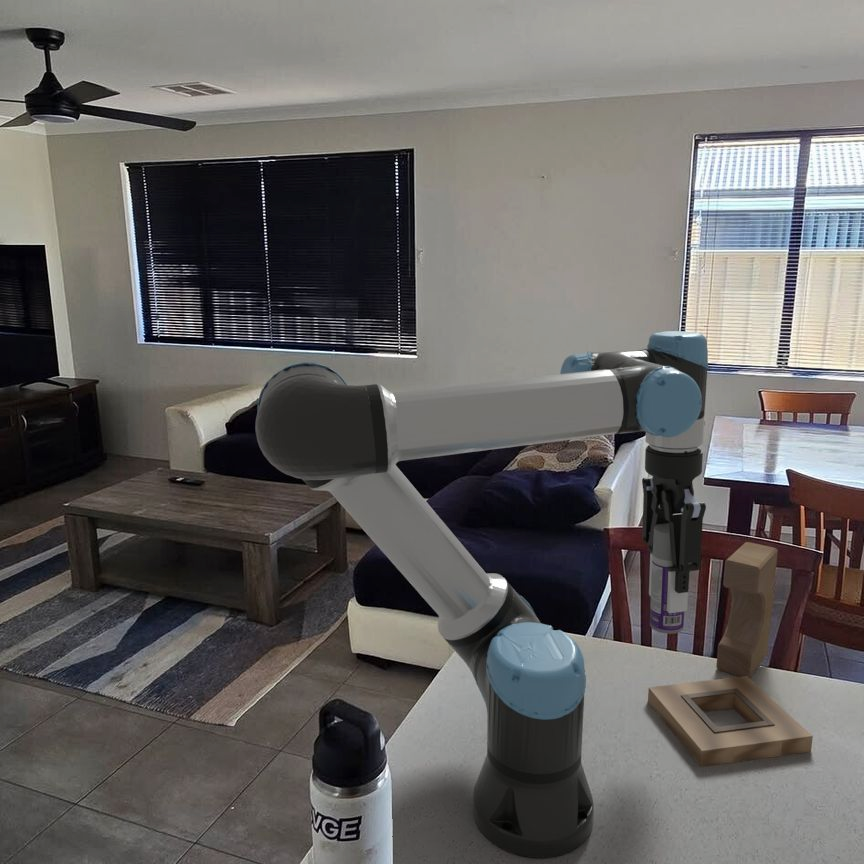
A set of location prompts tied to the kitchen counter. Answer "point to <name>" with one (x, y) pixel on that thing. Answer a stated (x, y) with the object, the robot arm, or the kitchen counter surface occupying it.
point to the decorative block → (748, 608)
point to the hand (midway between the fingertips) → (667, 602)
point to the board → (733, 743)
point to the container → (662, 584)
